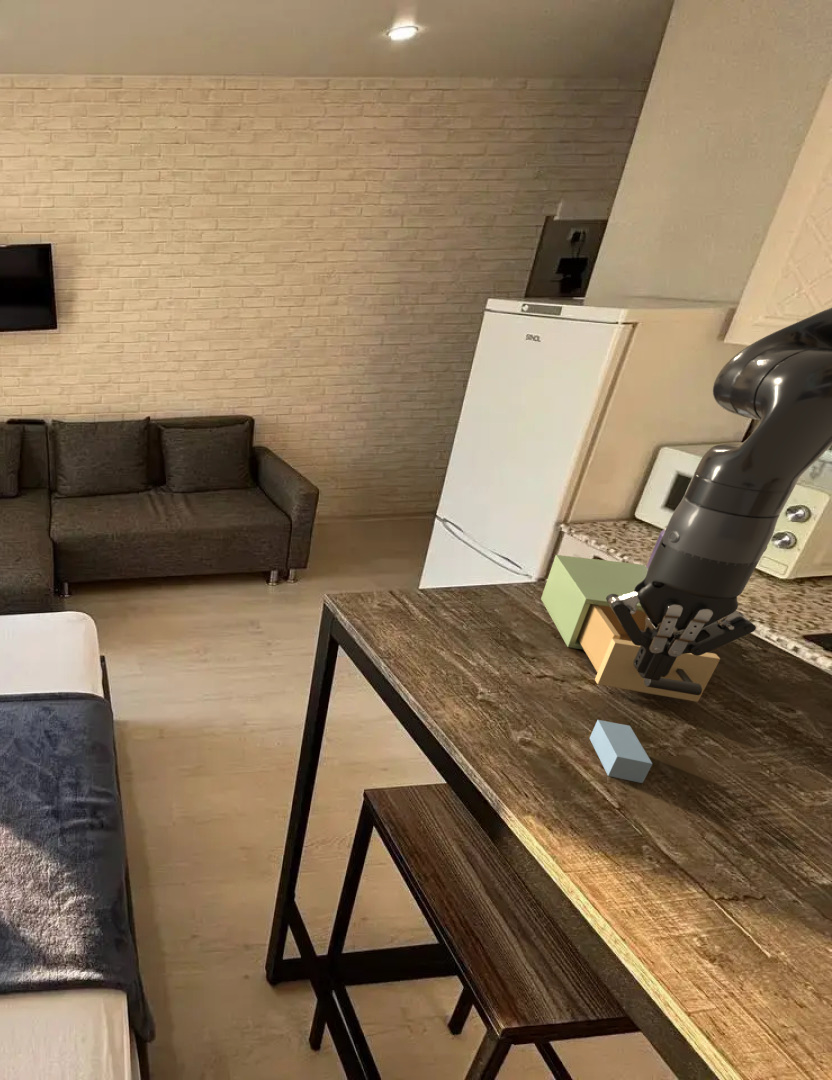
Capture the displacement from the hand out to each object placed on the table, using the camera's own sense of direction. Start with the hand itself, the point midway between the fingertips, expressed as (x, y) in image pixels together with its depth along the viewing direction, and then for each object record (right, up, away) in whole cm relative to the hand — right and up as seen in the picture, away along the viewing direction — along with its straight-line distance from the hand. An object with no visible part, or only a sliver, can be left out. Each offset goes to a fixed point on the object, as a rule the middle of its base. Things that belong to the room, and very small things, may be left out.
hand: (646, 675), depth 68 cm
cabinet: (+18, +1, +29) cm, 34 cm away
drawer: (+14, -4, +17) cm, 22 cm away
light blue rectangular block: (-1, -11, +4) cm, 12 cm away
